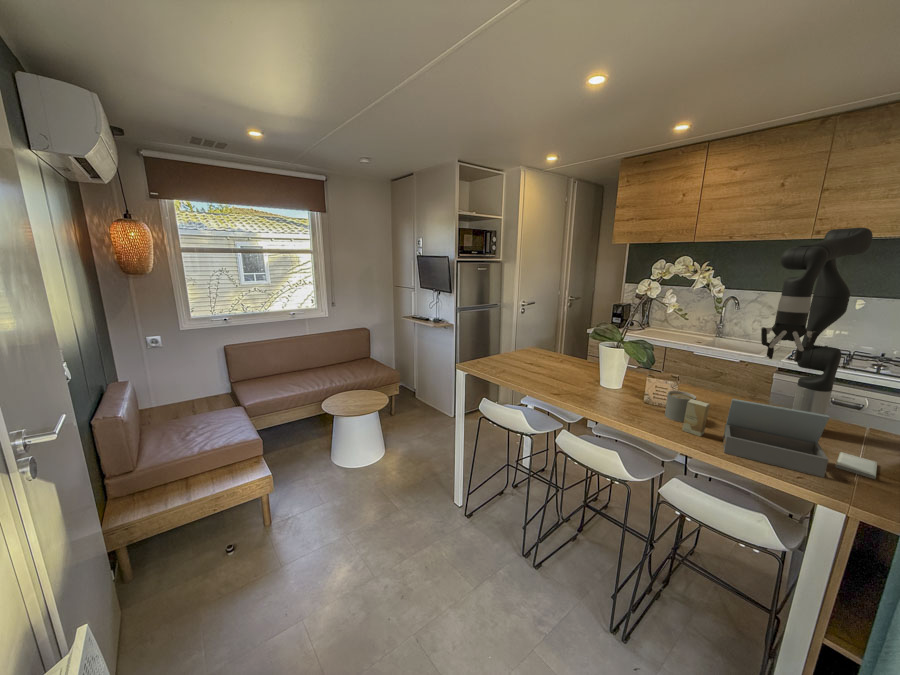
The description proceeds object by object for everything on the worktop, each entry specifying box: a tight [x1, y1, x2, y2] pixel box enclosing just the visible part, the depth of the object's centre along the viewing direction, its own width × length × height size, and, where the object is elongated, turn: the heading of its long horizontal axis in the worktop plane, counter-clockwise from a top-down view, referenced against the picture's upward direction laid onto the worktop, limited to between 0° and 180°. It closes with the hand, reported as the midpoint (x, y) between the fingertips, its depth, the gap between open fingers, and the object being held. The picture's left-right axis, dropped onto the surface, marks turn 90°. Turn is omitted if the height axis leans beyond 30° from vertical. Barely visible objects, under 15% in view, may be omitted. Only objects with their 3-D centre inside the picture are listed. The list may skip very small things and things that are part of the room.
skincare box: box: [681, 399, 711, 437], centre depth 133 cm, size 6×4×12 cm
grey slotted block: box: [722, 423, 829, 478], centre depth 117 cm, size 12×24×6 cm, turn 54°
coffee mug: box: [664, 390, 697, 423], centre depth 148 cm, size 13×10×10 cm
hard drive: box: [835, 451, 878, 480], centre depth 112 cm, size 2×8×12 cm
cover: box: [725, 398, 830, 443], centre depth 119 cm, size 12×24×1 cm
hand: (782, 359), depth 119 cm, fingers open, 5 cm apart
